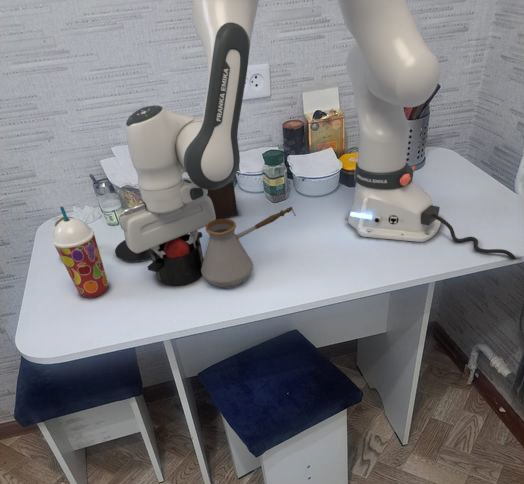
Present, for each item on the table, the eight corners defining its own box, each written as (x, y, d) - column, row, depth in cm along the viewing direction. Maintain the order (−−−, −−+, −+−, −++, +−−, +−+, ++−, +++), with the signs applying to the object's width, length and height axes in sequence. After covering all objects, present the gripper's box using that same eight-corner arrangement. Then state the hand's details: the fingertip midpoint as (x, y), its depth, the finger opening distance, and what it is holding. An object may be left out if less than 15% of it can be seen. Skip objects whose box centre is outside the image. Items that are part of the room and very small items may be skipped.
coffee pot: (203, 296, 101) (190, 233, 91) (202, 267, 109) (191, 207, 99) (301, 283, 101) (299, 219, 91) (293, 256, 110) (291, 194, 100)
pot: (221, 259, 111) (216, 233, 106) (178, 298, 101) (171, 270, 96) (184, 250, 116) (178, 224, 111) (139, 286, 106) (130, 259, 101)
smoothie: (91, 277, 110) (59, 196, 97) (120, 283, 107) (91, 200, 94) (68, 298, 104) (30, 214, 91) (98, 304, 102) (64, 219, 88)
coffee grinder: (229, 199, 135) (220, 134, 123) (238, 215, 127) (230, 147, 115) (176, 210, 133) (161, 145, 121) (182, 227, 125) (167, 159, 113)
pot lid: (174, 243, 119) (170, 225, 115) (142, 268, 111) (137, 249, 108) (138, 234, 124) (133, 216, 120) (105, 257, 116) (99, 239, 113)
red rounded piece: (188, 274, 105) (181, 242, 99) (164, 273, 106) (155, 241, 100) (196, 259, 109) (189, 228, 103) (173, 259, 110) (165, 228, 105)
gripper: (122, 217, 90) (141, 277, 99) (213, 184, 98) (223, 243, 107) (110, 206, 94) (129, 265, 103) (199, 176, 102) (209, 233, 111)
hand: (177, 254), depth 105 cm, fingers closed on red rounded piece, 6 cm apart
